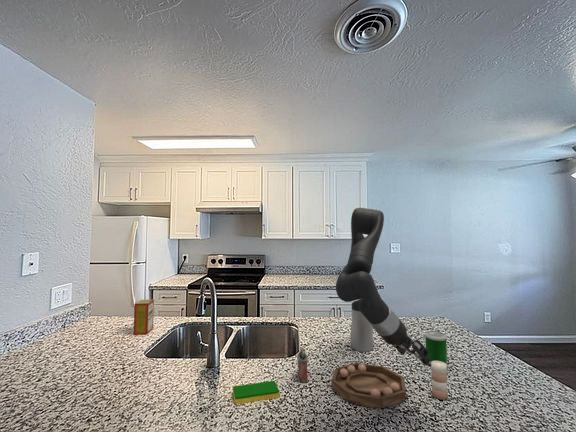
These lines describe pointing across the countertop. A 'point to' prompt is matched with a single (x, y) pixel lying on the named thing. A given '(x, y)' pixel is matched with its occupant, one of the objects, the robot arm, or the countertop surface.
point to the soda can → (436, 346)
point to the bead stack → (439, 379)
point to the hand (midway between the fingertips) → (415, 357)
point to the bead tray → (369, 386)
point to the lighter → (302, 366)
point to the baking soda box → (143, 317)
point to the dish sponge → (255, 392)
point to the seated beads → (374, 392)
